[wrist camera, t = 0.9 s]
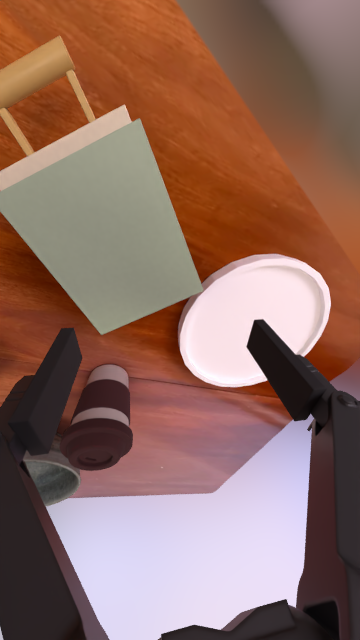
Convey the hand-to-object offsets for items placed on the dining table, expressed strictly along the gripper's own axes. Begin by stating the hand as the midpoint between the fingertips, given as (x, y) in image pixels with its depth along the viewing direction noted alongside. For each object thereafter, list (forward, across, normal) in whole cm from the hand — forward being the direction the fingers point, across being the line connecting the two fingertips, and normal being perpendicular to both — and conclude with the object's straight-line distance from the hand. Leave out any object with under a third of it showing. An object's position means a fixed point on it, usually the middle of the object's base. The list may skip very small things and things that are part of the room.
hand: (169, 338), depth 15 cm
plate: (+18, +18, -12) cm, 28 cm away
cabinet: (+18, -4, +4) cm, 19 cm away
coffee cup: (+18, -10, -23) cm, 30 cm away
